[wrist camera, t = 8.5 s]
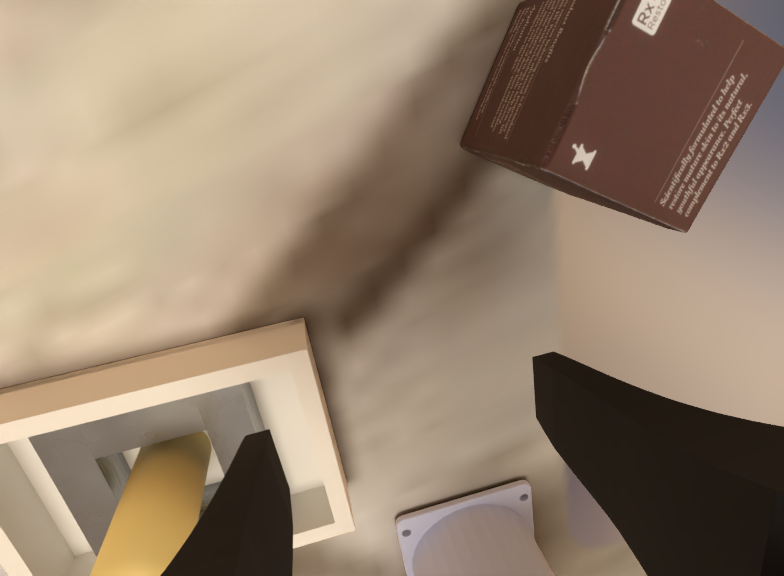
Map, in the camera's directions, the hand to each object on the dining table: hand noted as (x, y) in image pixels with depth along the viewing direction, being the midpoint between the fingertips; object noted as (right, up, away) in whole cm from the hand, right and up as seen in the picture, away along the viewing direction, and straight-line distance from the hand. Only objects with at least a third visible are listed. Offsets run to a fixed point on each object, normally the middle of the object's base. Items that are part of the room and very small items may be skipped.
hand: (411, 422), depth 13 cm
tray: (-10, -4, +10) cm, 15 cm away
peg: (-10, -4, +10) cm, 15 cm away
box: (+6, +11, +8) cm, 15 cm away
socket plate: (-10, -4, +10) cm, 15 cm away
